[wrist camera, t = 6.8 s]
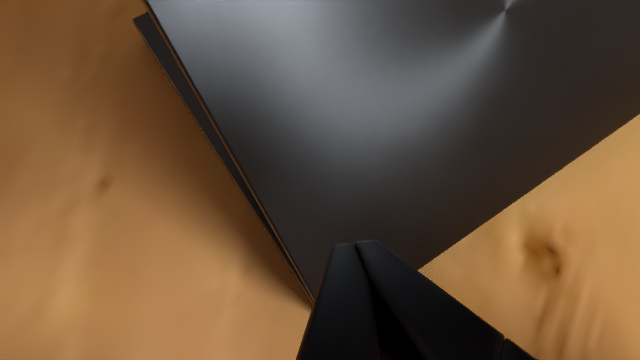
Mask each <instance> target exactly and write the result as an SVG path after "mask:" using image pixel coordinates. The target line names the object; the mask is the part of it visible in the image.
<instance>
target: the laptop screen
mask: <svg viewBox="0 0 640 360" xmlns="http://www.w3.org/2000/svg"><path fill="white" fill-rule="evenodd" d="M142 2H143V4H144V6H145V7H146V9H147V11H148V13H149V14H150V16H151V18H152V20H153V21H154V23H155V25H156V27H157V28H158V30H159V32H160V34H161V35H162V37H163V39H164V41H165V42H166V44H167V46H168V48H169V49H170V51H171V53H172V55H173V56H174V58H175V60H176V62H177V63H178V65H179V67H180V69H181V70H182V72H183V74H184V76H185V77H186V79H187V81H188V83H189V84H190V86H191V88H192V89H193V91H194V93H195V95H196V96H197V98H198V100H199V102H200V103H201V105H202V107H203V109H204V110H205V112H206V114H207V116H208V117H209V119H210V121H211V123H212V124H213V126H214V128H215V130H216V131H217V133H218V135H219V137H220V138H221V140H222V142H223V144H224V145H225V147H226V149H227V151H228V152H229V154H230V156H231V158H232V159H233V161H234V163H235V165H236V166H237V168H238V170H239V172H240V173H241V175H242V177H243V179H244V180H245V182H246V184H247V186H248V187H249V189H250V191H251V193H252V194H253V196H254V198H255V200H256V201H257V203H258V205H259V207H260V208H261V210H262V212H263V214H264V215H265V217H266V219H267V221H268V222H269V224H270V226H271V228H272V229H273V231H274V233H275V235H276V236H277V238H278V240H279V242H280V243H281V245H282V247H283V249H284V250H285V252H286V254H287V256H288V257H289V259H290V261H291V263H292V264H293V266H294V268H295V270H296V271H297V273H298V275H299V277H300V278H301V280H302V282H303V284H304V285H305V287H306V289H307V291H308V292H309V294H310V296H311V298H312V299H313V301H315V298H316V295H317V292H318V288H319V285H320V282H321V279H322V276H323V273H324V270H325V266H326V263H327V260H328V257H329V254H330V251H331V248H332V246H333V245H335V244H343V243H353V244H354V245H355V243H356V242H358V241H365V240H372V239H374V240H377V241H378V242H380V243H381V244H382V245H384V246H385V247H386V248H388V249H389V250H390V251H392V252H393V253H394V254H396V255H397V256H398V257H400V258H401V259H402V260H404V261H405V262H406V263H408V264H409V265H410V266H412V267H413V268H414V269H416V270H419V269H420V268H422V267H423V266H424V265H426V264H427V263H429V262H430V261H431V260H433V259H434V258H436V257H437V256H439V255H440V254H441V253H443V252H444V251H446V250H447V249H449V248H450V247H451V246H453V245H454V244H456V243H457V242H458V241H460V240H461V239H463V238H464V237H466V236H467V235H468V234H470V233H471V232H473V231H474V230H476V229H477V228H478V227H480V226H481V225H483V224H484V223H485V222H487V221H488V220H490V219H491V218H493V217H494V216H495V215H497V214H498V213H500V212H501V211H503V210H504V209H505V208H507V207H508V206H510V205H511V204H512V203H514V202H515V201H517V200H518V199H520V198H521V197H522V196H524V195H525V194H527V193H528V192H530V191H531V190H532V189H534V188H535V187H537V186H538V185H539V184H541V183H542V182H544V181H545V180H547V179H548V178H549V177H551V176H552V175H554V174H555V173H556V172H558V171H559V170H561V169H562V168H564V167H565V166H566V165H568V164H569V163H571V162H572V161H574V160H575V159H576V158H578V157H579V156H581V155H582V154H583V153H585V152H586V151H588V150H589V149H591V148H592V147H593V146H595V145H596V144H598V143H599V142H601V141H602V140H603V139H605V138H606V137H608V136H609V135H610V134H612V133H613V132H615V131H616V130H618V129H619V128H620V127H622V126H623V125H625V124H626V123H628V122H629V121H630V120H632V119H633V118H635V117H636V116H637V115H639V114H640V0H142Z"/></svg>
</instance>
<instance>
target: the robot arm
mask: <svg viewBox="0 0 640 360" xmlns="http://www.w3.org/2000/svg"><path fill="white" fill-rule="evenodd" d="M504 339H505V336H504V335H503V334H502V333H500V332H499V331H498V330H496V329H495V328H494V327H492V326H491V325H490V324H488V323H487V322H486V321H484V320H483V319H482V318H480V317H479V316H477V315H476V314H475V313H473V312H472V311H471V310H469V309H468V308H467V307H465V306H464V305H463V304H461V303H460V302H459V301H457V300H456V299H455V298H453V297H452V296H451V295H449V294H448V293H447V292H445V291H444V290H443V289H441V288H440V287H439V286H437V285H436V284H435V283H433V282H432V281H431V280H429V279H428V278H427V277H425V276H424V275H423V274H421V273H420V272H418V271H417V270H416V269H414V268H413V267H412V266H410V265H409V264H408V263H406V262H405V261H404V260H402V259H401V258H400V257H398V256H397V255H396V254H394V253H393V252H392V251H390V250H389V249H388V248H386V247H385V246H384V245H382V244H381V243H380V242H378V241H377V240H374V239H372V240H365V241H358V242H356V243H355V245H354V244H353V243H343V244H335V245H333V246H332V248H331V251H330V254H329V257H328V260H327V263H326V266H325V270H324V273H323V276H322V279H321V282H320V285H319V288H318V292H317V295H316V298H315V301H314V304H313V307H312V310H311V314H310V317H309V320H308V323H307V326H306V329H305V332H304V335H303V339H302V342H301V345H300V348H299V351H298V354H297V357H296V360H537V359H536V358H535V357H533V356H532V355H530V354H529V353H527V352H526V351H525V350H523V349H522V348H521V347H519V346H518V345H517V344H515V343H514V342H513V341H511V340H510V339H508V338H506V339H505V340H504Z"/></svg>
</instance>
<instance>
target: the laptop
mask: <svg viewBox="0 0 640 360" xmlns="http://www.w3.org/2000/svg"><path fill="white" fill-rule="evenodd" d="M133 22H134V24H135V26H136V28H137V30H138V31H139V33H140V35H141V37H142V39H143V40H144V42H145V44H146V45H147V47H148V48H149V50H150V51H151V53H152V54H153V56H154V58H155V59H156V61H157V62H158V64H159V65H160V67H161V69H162V70H163V72H164V73H165V75H166V76H167V78H168V80H169V81H170V83H171V84H172V86H173V87H174V89H175V91H176V92H177V94H178V95H179V97H180V98H181V100H182V101H183V103H184V105H185V106H186V108H187V109H188V111H189V112H190V114H191V116H192V117H193V119H194V120H195V122H196V123H197V125H198V127H199V128H200V130H201V131H202V133H203V134H204V136H205V137H206V139H207V141H208V142H209V144H210V145H211V147H212V148H213V150H214V152H215V153H216V155H217V156H218V158H219V159H220V161H221V163H222V164H223V166H224V167H225V169H226V170H227V172H228V174H229V175H230V177H231V178H232V180H233V181H234V183H235V184H236V186H237V188H238V189H239V191H240V192H241V194H242V195H243V197H244V199H245V200H246V202H247V203H248V205H249V206H250V208H251V210H252V211H253V213H254V214H255V216H256V217H257V219H258V220H259V222H260V224H261V225H262V227H263V228H264V230H265V231H266V233H267V235H268V236H269V238H270V239H271V241H272V242H273V244H274V246H275V247H276V249H277V250H278V252H279V253H280V255H281V257H282V258H283V260H284V261H285V263H286V264H287V266H288V267H289V269H290V271H291V272H292V274H293V275H294V277H295V278H296V280H297V282H298V283H299V285H300V286H301V288H302V289H303V291H304V293H305V294H306V296H307V297H308V299H309V300H310V302H311V303H312V305H313V304H314V301H313V299H312V298H311V296H310V294H309V292H308V291H307V289H306V287H305V285H304V284H303V282H302V280H301V278H300V277H299V275H298V273H297V271H296V270H295V268H294V266H293V264H292V263H291V261H290V259H289V257H288V256H287V254H286V252H285V250H284V249H283V247H282V245H281V243H280V242H279V240H278V238H277V236H276V235H275V233H274V231H273V229H272V228H271V226H270V224H269V222H268V221H267V219H266V217H265V215H264V214H263V212H262V210H261V208H260V207H259V205H258V203H257V201H256V200H255V198H254V196H253V194H252V193H251V191H250V189H249V187H248V186H247V184H246V182H245V180H244V179H243V177H242V175H241V173H240V172H239V170H238V168H237V166H236V165H235V163H234V161H233V159H232V158H231V156H230V154H229V152H228V151H227V149H226V147H225V145H224V144H223V142H222V140H221V138H220V137H219V135H218V133H217V131H216V130H215V128H214V126H213V124H212V123H211V121H210V119H209V117H208V116H207V114H206V112H205V110H204V109H203V107H202V105H201V103H200V102H199V100H198V98H197V96H196V95H195V93H194V91H193V89H192V88H191V86H190V84H189V83H188V81H187V79H186V77H185V76H184V74H183V72H182V70H181V69H180V67H179V65H178V63H177V62H176V60H175V58H174V56H173V55H172V53H171V51H170V49H169V48H168V46H167V44H166V42H165V41H164V39H163V37H162V35H161V34H160V32H159V30H158V28H157V27H156V25H155V23H154V21H153V20H152V18H151V16H150V14H149V13H148V12H146V13H144V14H142V15H140V16H138V17H136V18H134V19H133Z"/></svg>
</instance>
